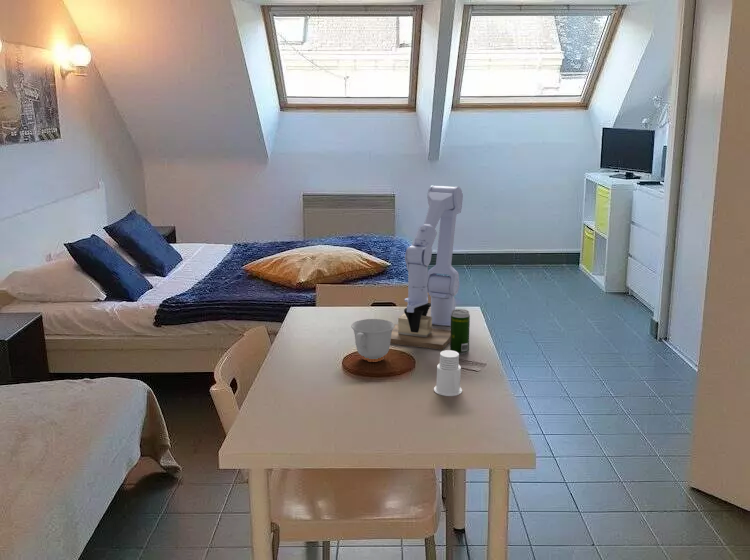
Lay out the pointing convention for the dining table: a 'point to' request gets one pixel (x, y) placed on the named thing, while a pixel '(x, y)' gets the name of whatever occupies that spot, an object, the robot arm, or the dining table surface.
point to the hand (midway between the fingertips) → (417, 329)
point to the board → (422, 339)
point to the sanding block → (424, 326)
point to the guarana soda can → (460, 331)
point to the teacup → (372, 337)
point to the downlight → (448, 374)
